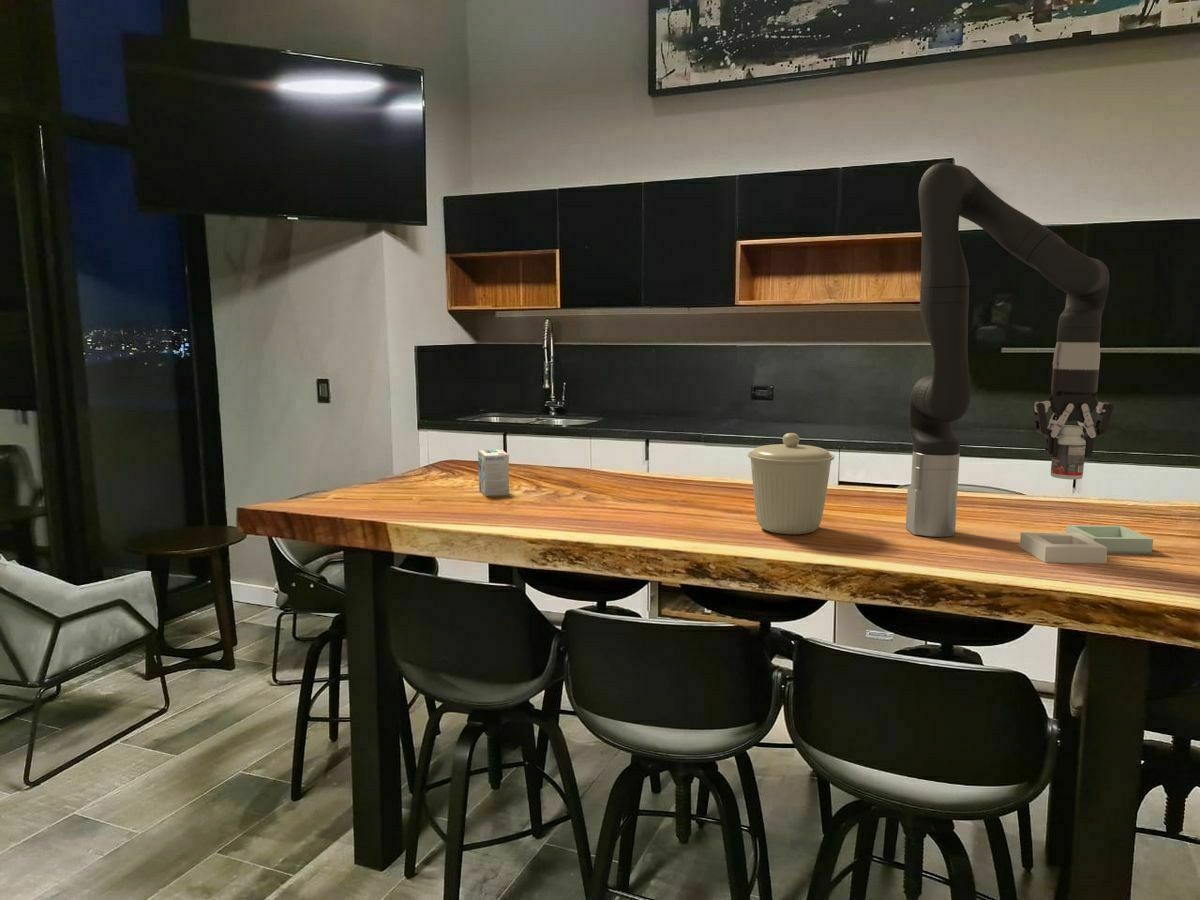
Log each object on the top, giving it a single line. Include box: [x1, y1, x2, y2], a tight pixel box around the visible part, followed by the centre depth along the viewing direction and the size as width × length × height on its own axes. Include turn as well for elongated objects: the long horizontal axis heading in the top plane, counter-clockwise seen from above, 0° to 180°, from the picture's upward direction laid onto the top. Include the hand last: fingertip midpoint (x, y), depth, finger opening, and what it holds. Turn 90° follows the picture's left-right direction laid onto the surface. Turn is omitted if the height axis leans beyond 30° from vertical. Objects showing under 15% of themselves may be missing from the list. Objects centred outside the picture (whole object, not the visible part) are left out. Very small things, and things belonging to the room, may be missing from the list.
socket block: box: [1019, 532, 1108, 564], centre depth 162 cm, size 11×11×3 cm
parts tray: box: [1065, 524, 1154, 555], centre depth 168 cm, size 11×11×3 cm
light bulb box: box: [477, 448, 510, 497], centre depth 226 cm, size 11×7×11 cm, turn 17°
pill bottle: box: [1050, 424, 1086, 481], centre depth 160 cm, size 5×5×10 cm
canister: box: [747, 432, 835, 535], centre depth 182 cm, size 18×18×21 cm
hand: (1068, 456), depth 160 cm, fingers closed on pill bottle, 5 cm apart
